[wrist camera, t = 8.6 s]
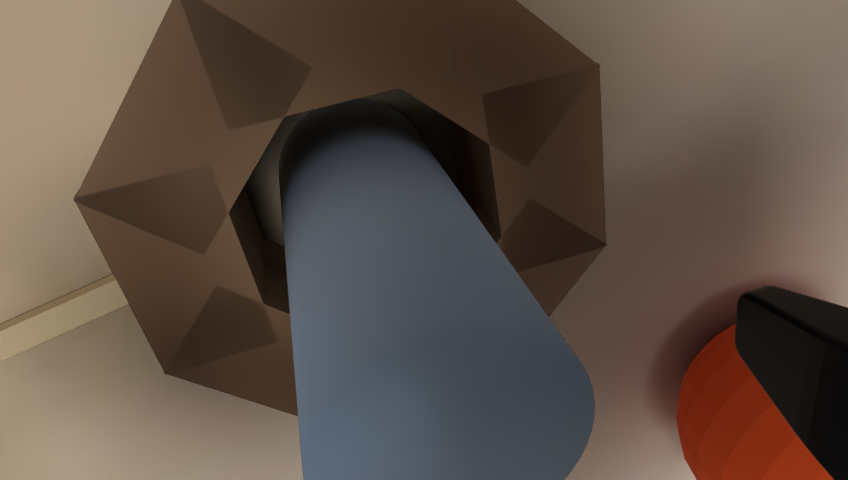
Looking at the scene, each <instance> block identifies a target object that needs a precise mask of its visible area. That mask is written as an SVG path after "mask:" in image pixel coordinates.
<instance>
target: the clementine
mask: <svg viewBox="0 0 848 480" xmlns="http://www.w3.org/2000/svg"><path fill="white" fill-rule="evenodd" d="M735 325H736V324H734V325H732V326H730V327H729V328H727V329H726V330H724V331H723V332H721V333H720V334H718V335H717V336H715V337H714V338H713V339H712V340H711V341H710V342H709V343H708V344H707V345H706V346H705V347H704V348H703V349H702V350H701V351H700V352H699V353H698V355H697V356H696V357H695V359H694V360H693V361H692V363H691V364H690V365H689V367H688V369H687V372H686V374H685V376H684V378H683V380H682V383H681V388H680V394H679V400H678V408H677V415H676V419H677V425H678V432H679V437H680V441H681V445H682V450H683V454H684V458H685V460H686V461H687V463H688V465H689V467H690V468H691V470H692V472H693V474H694V475H695V477H696V479H697V480H834V479H833V478H832V477H831V476H830V475H829V473H828V472H827V471H826V470H825V469H824V468H823V467H822V465H821V464H820V463H819V462H818V461H817V460H816V458H815V457H814V456H813V455H812V454H811V452H810V451H809V450H808V449H807V448H806V446H805V445H804V444H803V443H802V441H801V440H800V439H799V437H798V436H797V435H796V433H795V432H794V431H793V429H792V428H791V427H790V425H789V424H788V422H787V421H786V420H785V418H784V417H783V415H782V414H781V413H780V411H779V410H778V408H777V407H776V406H775V404H774V403H773V401H772V400H771V399H770V397H769V396H768V395H767V393H766V392H765V390H764V389H763V388H762V386H761V385H760V383H759V382H758V381H757V379H756V378H755V376H754V375H753V374H752V372H751V371H750V369H749V368H748V367H747V365H746V364H745V362H744V361H743V360H742V358H741V357H740V355H739V353H738V351H737V349H736V346H735V340H734V336H735Z"/></svg>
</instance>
